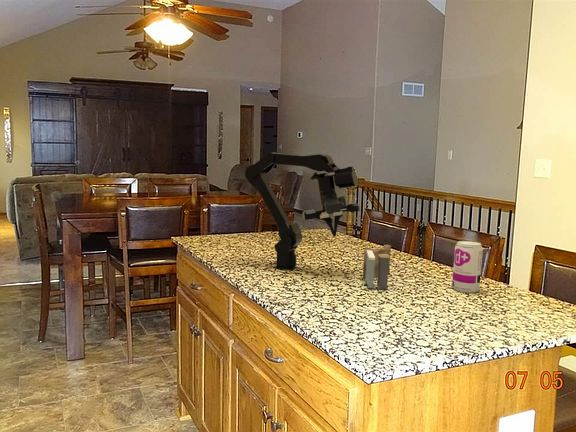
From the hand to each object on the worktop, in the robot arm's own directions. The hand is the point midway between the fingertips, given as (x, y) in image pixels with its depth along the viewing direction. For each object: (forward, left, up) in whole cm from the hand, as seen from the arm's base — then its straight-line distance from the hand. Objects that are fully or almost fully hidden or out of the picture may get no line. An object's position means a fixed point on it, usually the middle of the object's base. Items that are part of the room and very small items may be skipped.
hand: (334, 236), depth 183 cm
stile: (+16, -16, -13) cm, 26 cm away
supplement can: (+42, -11, -13) cm, 45 cm away
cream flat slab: (+12, -12, -13) cm, 21 cm away
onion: (+15, +10, -13) cm, 23 cm away
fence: (+15, 0, -13) cm, 20 cm away
